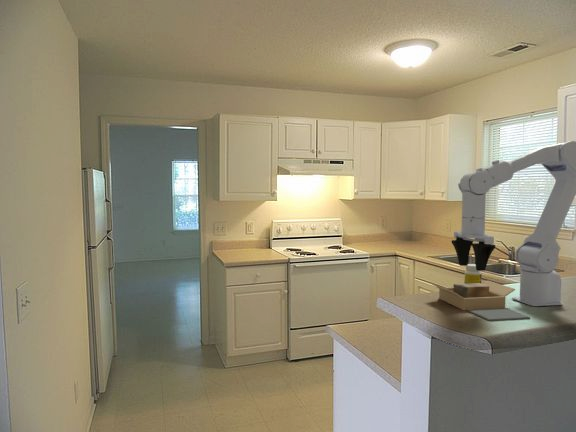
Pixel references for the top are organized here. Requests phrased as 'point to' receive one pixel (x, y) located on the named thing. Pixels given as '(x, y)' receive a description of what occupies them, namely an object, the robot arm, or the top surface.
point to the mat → (498, 314)
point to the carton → (491, 302)
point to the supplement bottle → (472, 274)
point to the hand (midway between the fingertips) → (471, 267)
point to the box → (471, 290)
